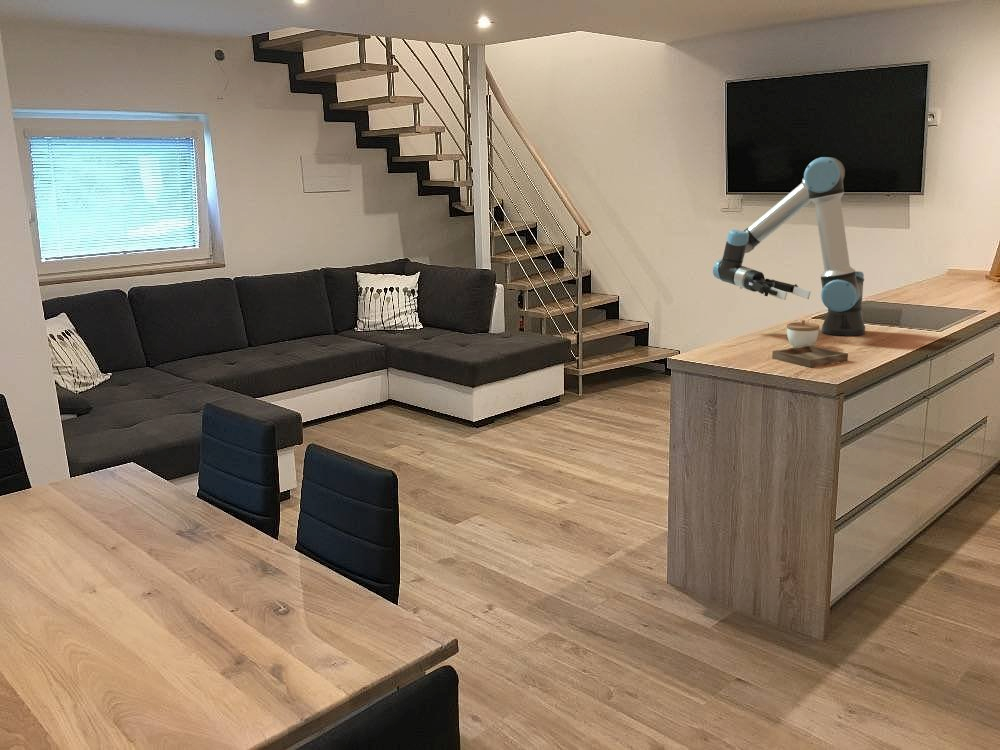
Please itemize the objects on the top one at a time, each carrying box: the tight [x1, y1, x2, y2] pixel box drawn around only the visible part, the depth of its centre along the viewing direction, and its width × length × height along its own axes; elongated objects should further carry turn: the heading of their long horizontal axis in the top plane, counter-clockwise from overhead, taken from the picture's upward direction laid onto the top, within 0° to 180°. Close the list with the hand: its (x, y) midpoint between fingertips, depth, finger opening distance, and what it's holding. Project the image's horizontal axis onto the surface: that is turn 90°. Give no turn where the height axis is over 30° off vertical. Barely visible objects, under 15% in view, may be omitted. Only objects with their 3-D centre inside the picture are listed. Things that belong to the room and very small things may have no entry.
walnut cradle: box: [772, 345, 849, 368], centre depth 285 cm, size 16×16×2 cm
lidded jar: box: [786, 319, 821, 348], centre depth 304 cm, size 11×11×9 cm
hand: (797, 295), depth 306 cm, fingers open, 13 cm apart
